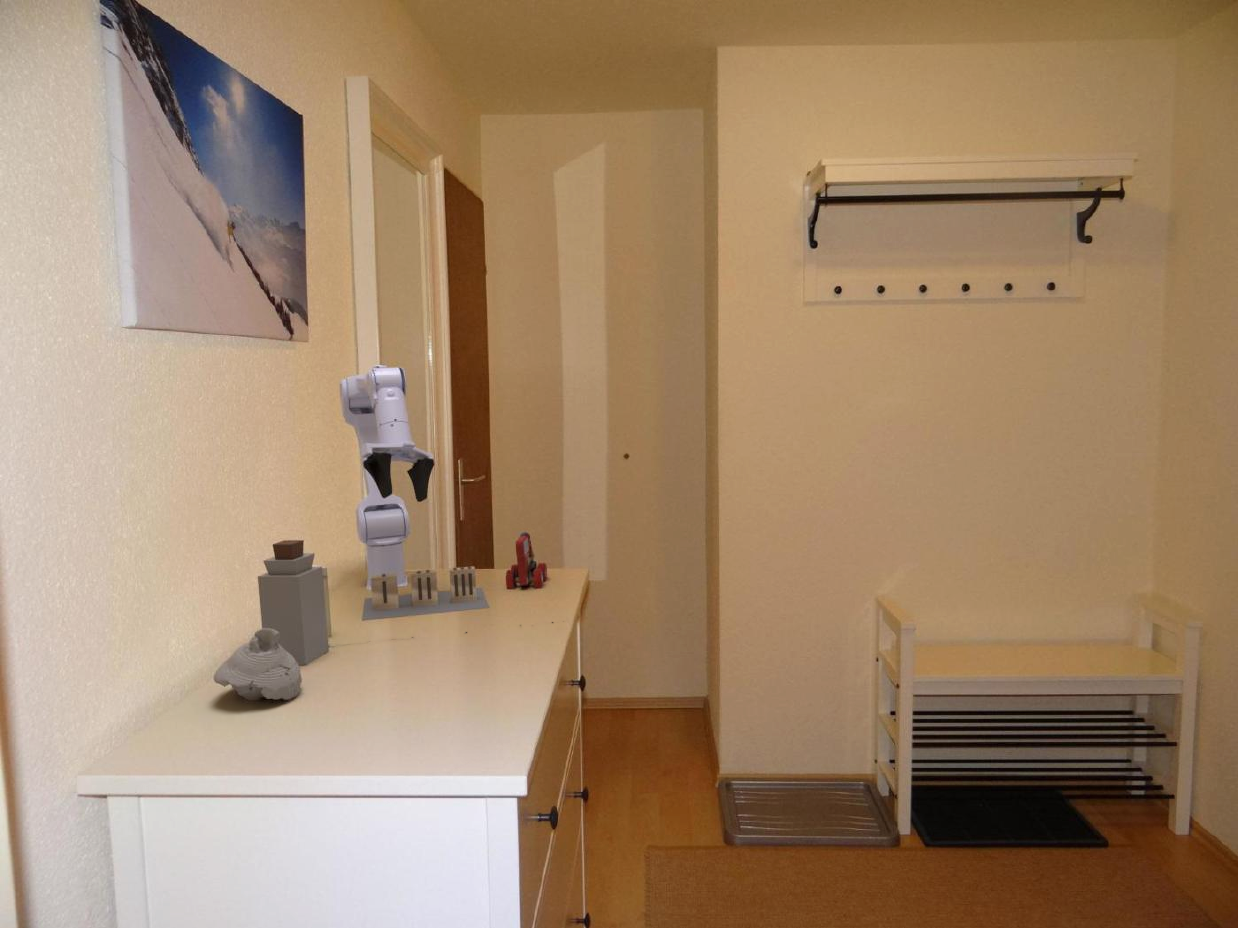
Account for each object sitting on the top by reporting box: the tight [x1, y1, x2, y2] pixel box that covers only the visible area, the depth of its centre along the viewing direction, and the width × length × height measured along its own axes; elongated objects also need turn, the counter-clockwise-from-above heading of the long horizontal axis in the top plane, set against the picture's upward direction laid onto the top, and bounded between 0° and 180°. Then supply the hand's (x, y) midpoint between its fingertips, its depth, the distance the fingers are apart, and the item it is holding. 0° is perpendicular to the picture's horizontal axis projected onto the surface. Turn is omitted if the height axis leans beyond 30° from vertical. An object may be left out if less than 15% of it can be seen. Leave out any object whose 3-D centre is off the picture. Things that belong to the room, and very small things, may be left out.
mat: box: [361, 586, 490, 621], centre depth 169 cm, size 16×22×1 cm
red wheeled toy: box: [505, 531, 548, 590], centre depth 181 cm, size 7×12×10 cm, turn 177°
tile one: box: [370, 573, 399, 611], centre depth 166 cm, size 2×4×6 cm, turn 103°
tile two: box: [410, 569, 438, 607], centre depth 167 cm, size 2×4×6 cm, turn 103°
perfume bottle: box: [257, 539, 330, 666], centre depth 140 cm, size 7×7×18 cm
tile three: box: [449, 565, 477, 603], centre depth 169 cm, size 2×4×6 cm, turn 103°
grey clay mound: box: [213, 628, 303, 702], centre depth 124 cm, size 12×12×11 cm
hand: (405, 498), depth 162 cm, fingers open, 7 cm apart
